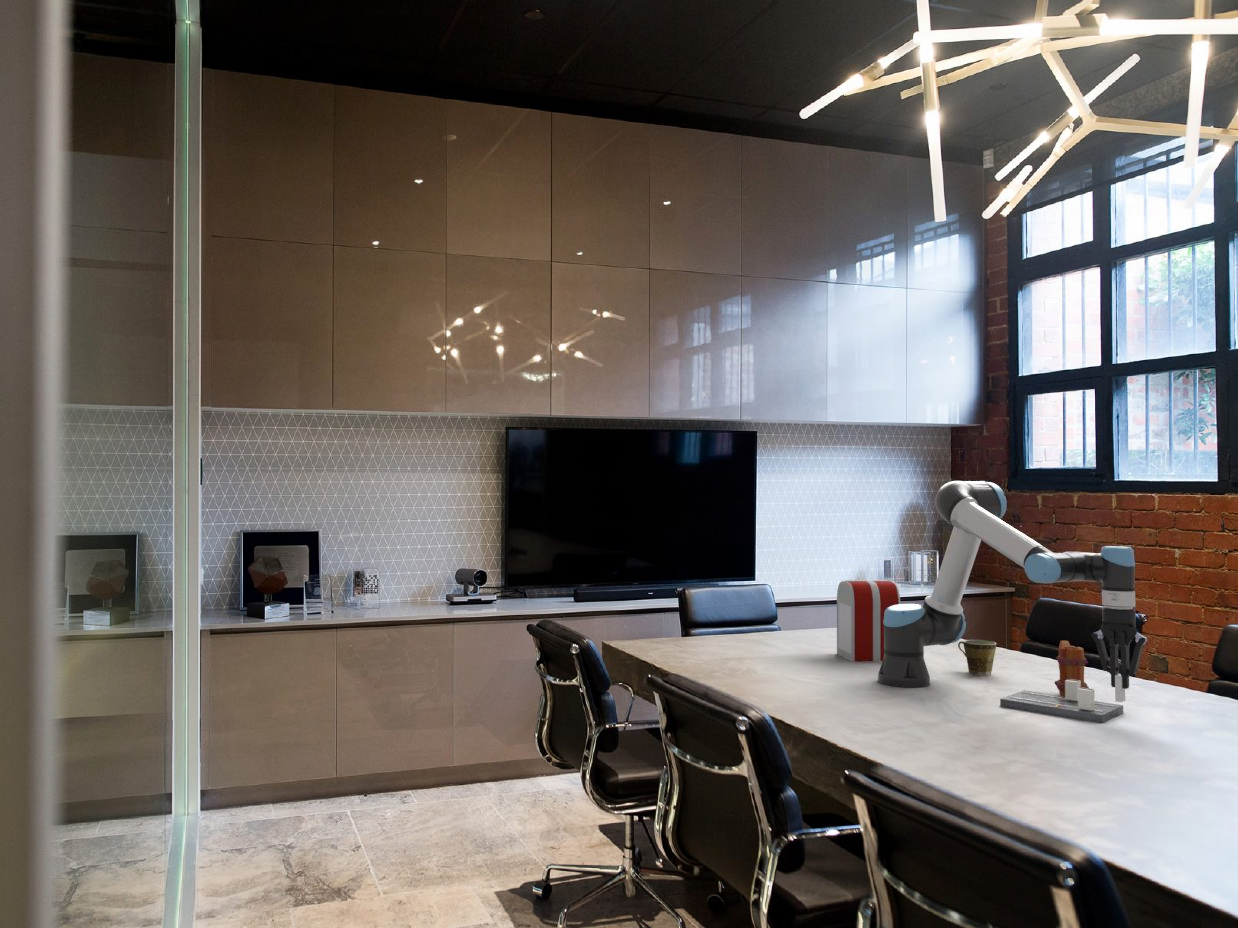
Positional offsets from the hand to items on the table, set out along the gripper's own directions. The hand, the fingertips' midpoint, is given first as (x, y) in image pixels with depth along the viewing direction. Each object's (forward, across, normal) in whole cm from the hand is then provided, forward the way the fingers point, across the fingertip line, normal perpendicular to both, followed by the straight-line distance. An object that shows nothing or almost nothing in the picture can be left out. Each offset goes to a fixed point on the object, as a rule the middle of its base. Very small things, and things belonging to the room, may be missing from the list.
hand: (1120, 700), depth 240 cm
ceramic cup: (+5, -55, +39) cm, 68 cm away
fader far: (+3, -15, +9) cm, 18 cm away
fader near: (+3, -8, 0) cm, 9 cm away
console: (+5, -16, +5) cm, 18 cm away
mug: (+6, -21, +25) cm, 33 cm away
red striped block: (+5, -94, +39) cm, 102 cm away
